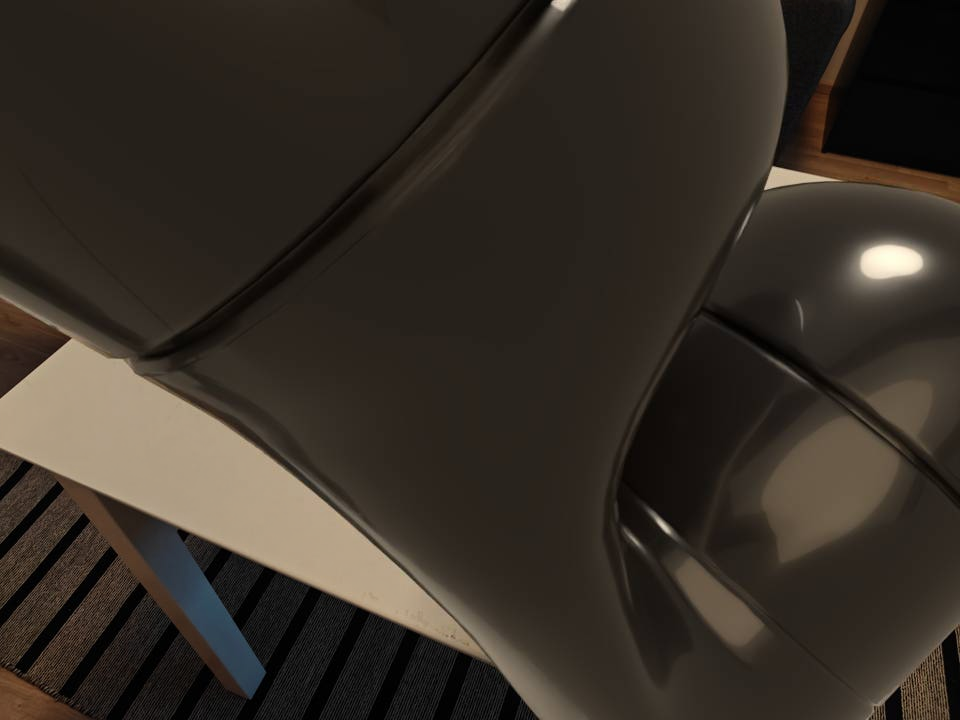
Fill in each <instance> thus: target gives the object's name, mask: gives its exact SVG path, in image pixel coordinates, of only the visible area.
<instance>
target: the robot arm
mask: <svg viewBox="0 0 960 720" xmlns="http://www.w3.org/2000/svg"><path fill="white" fill-rule="evenodd" d="M785 24H786V23H785V18H784V14H783V9H782V4H781V0H0V298H1V299H2V300H4V301H6V302H7V303H9V304H11V305H13V306H14V307H16V308H18V309H20V310H22V311H23V312H25V313H27V314H28V315H30V316H32V317H33V318H35V319H37V320H39V321H41V322H43V323H44V324H46V325H48V326H49V327H52V328H53V329H55V330H56V331H58V332H59V333H62V334H64V335H66V336H67V337H69V338H71V339H72V340H75V341H76V342H78V343H80V344H82V345H84V346H85V347H86V348H89V349H91V350H92V351H94V352H96V353H98V354H100V355H101V356H103V357H105V358H106V359H109V360H110V359H113V360H123V362H124V363H125V364H126V365H127V366H129V368H130V369H131V370H132V372H133V373H134V375H136V376H137V377H140V378H142V379H144V380H146V381H147V382H149V383H151V384H153V385H155V386H156V387H158V388H160V389H162V391H163V390H164V391H165V392H167V393H169V394H171V395H173V396H174V397H176V398H178V399H179V400H181V401H184V402H185V403H187V404H189V405H191V406H193V407H194V408H196V409H198V410H200V411H201V412H202V413H204V414H206V415H208V416H209V417H211V418H213V419H215V420H216V421H218V422H220V423H221V424H222V425H224V426H225V427H226V428H228V429H229V430H230V431H232V432H233V433H235V434H237V435H238V436H239V437H241V438H242V439H244V440H245V441H247V442H248V443H250V445H252V446H254V447H255V448H256V449H258V450H260V451H261V453H263V454H264V455H266V456H267V457H268V458H270V459H271V460H272V461H273V462H275V463H276V464H277V465H279V466H280V467H281V468H283V470H285V471H287V473H289V474H290V475H291V476H293V477H294V478H295V479H296V480H297V481H299V482H300V483H302V485H304V486H305V487H306V488H308V489H309V490H310V491H311V492H312V493H313V494H315V495H316V496H317V497H318V498H320V499H321V500H322V501H323V502H324V503H326V504H327V505H328V506H329V507H331V508H332V509H333V510H334V511H335V512H336V513H337V514H338V515H339V516H340V517H342V518H343V520H345V521H346V522H347V523H348V524H349V525H351V527H353V528H354V530H356V531H357V532H358V533H360V534H361V535H362V536H363V537H364V538H365V539H367V541H369V542H370V543H371V544H372V545H373V546H374V547H375V548H376V549H377V550H379V551H380V552H381V553H382V554H383V555H384V556H386V557H387V558H388V559H389V560H390V561H391V562H392V563H394V564H395V565H396V566H397V567H398V568H399V569H400V570H401V571H403V572H404V574H406V575H407V577H409V578H410V579H411V580H412V581H413V582H414V583H415V584H416V585H417V586H418V587H419V588H420V589H421V590H422V591H424V592H425V593H426V595H427V596H428V597H430V599H432V600H433V601H434V602H435V603H436V604H437V605H438V606H439V607H440V608H441V609H442V610H443V611H444V612H445V613H446V614H447V615H448V616H450V618H452V620H453V621H454V622H455V623H456V624H457V625H458V626H459V627H460V628H461V629H462V630H463V631H464V632H465V634H466V635H467V636H468V637H469V638H470V639H471V640H472V641H473V642H474V643H475V644H476V645H477V647H478V648H479V649H480V650H481V652H483V654H484V655H485V656H486V657H487V659H488V660H489V661H490V662H491V663H492V664H493V666H494V667H495V668H496V669H497V670H498V672H499V673H500V674H501V675H502V677H503V678H504V679H505V680H506V682H507V683H508V684H509V685H510V687H512V689H513V690H514V691H515V692H516V693H517V695H518V697H520V698H521V699H522V701H523V702H524V703H525V704H526V705H527V706H528V708H529V709H530V710H531V711H532V712H533V714H534V715H535V716H536V717H537V718H538V719H539V720H869V719H870V718H871V717H872V716H873V714H874V712H875V708H874V707H882V705H883V704H884V703H885V702H886V701H887V700H888V699H889V698H890V697H891V696H892V695H893V694H894V693H895V692H896V691H897V690H898V689H899V687H901V685H903V684H904V683H905V681H906V680H907V679H908V678H909V677H911V675H912V674H913V673H914V672H915V671H916V670H917V669H918V668H919V667H920V666H921V665H922V664H923V663H924V662H925V660H927V658H928V657H929V656H930V655H931V654H932V653H933V652H934V651H935V650H936V649H937V648H938V647H939V646H940V645H941V644H942V643H943V642H944V640H945V639H947V638H948V636H949V635H950V634H951V633H953V631H954V630H955V629H956V628H957V627H958V626H959V625H960V203H958V202H955V201H953V200H951V199H947V198H944V197H941V196H938V195H935V194H932V193H928V192H924V191H921V190H916V189H911V188H906V187H902V186H897V185H890V184H883V183H878V182H867V181H855V180H854V181H853V180H852V181H851V180H823V181H822V180H821V181H808V182H800V183H799V182H798V183H793V184H786V185H780V186H779V185H778V186H775V187H771V188H767V189H765V188H766V186H767V183H768V180H769V177H770V174H771V172H772V169H773V164H774V161H775V156H776V152H777V147H778V142H779V138H780V133H781V128H782V124H783V120H784V115H785V111H786V106H787V103H788V93H789V79H790V78H789V77H790V62H789V50H788V38H787V31H786V25H785Z"/></svg>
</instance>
